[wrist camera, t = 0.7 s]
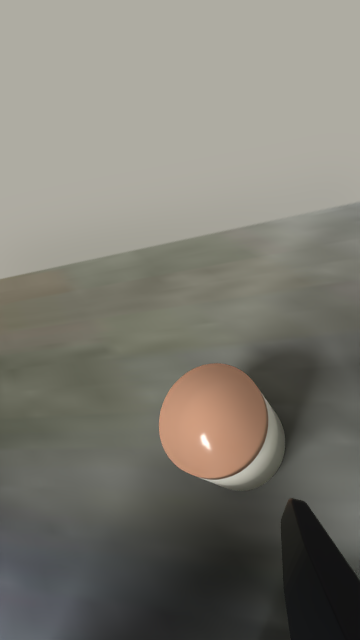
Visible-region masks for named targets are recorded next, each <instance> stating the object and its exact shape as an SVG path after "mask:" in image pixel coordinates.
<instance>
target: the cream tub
mask: <svg viewBox="0 0 360 640" xmlns="http://www.w3.org/2000/svg"><path fill="white" fill-rule="evenodd" d="M159 432H160V438H161V442H162V445H163V447H164V450H165V452H166V453H167V455H168V457H169V458H170V459H171V461H172V462H173V463H174V464H175V465H176V466H177V467H179V468H180V469H182V470H183V471H185V472H187V473H189V474H191V475H194V476H196V477H199V478H201V479H204V480H206V481H209V482H211V483H214V484H216V485H219V486H221V487H224V488H227V489H230V490H235V491H247V490H252V489H255V488H257V487H259V486H261V485H263V484H265V483H266V482H267V481H269V480H270V479H271V478H272V477H273V476H274V474H275V473H276V472H277V470H278V468H279V467H280V465H281V462H282V460H283V456H284V452H285V434H284V429H283V426H282V424H281V421H280V419H279V417H278V416H277V414H276V413H275V411H274V410H273V408H272V407H271V406H270V404H269V403H268V401H267V400H266V399H265V397H264V396H263V394H262V393H261V391H260V390H259V389H258V387H257V386H256V384H255V383H254V382H253V381H252V379H251V378H250V377H249V376H248V375H247V374H245V373H244V372H243V371H241V370H239V369H237V368H236V367H233V366H230V365H226V364H218V363H216V364H207V365H202V366H199V367H197V368H195V369H192V370H191V371H189V372H187V373H186V374H185V375H183V376H182V377H181V378H180V379H179V380H178V381H177V382H176V383H175V384H174V385H173V386H172V388H171V389H170V391H169V392H168V394H167V396H166V398H165V400H164V402H163V405H162V408H161V412H160V418H159Z"/></svg>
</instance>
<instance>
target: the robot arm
mask: <svg viewBox="0 0 360 640" xmlns="http://www.w3.org/2000/svg"><path fill="white" fill-rule="evenodd" d="M281 541H282V561H283V581H284V593H285V602H286V609H287V615H288V622H289V629H290V636H291V640H360V580H359V578H358V577H357V576H356V574H355V573H354V571H353V570H352V568H351V567H350V565H349V564H348V563H347V561H346V560H345V558H344V557H343V555H342V554H341V552H340V551H339V550H338V548H337V547H336V545H335V544H334V542H333V541H332V539H331V538H330V537H329V535H328V534H327V532H326V531H325V529H324V528H323V526H322V525H321V524H320V522H319V521H318V519H317V518H316V516H315V515H314V513H313V512H312V511H311V509H310V508H309V506H308V505H307V503H305V502H304V501H302V500H298V499H293V498H290V499H289V500H288V502H287V505H286V508H285V510H284V513H283V515H282V519H281Z"/></svg>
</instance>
